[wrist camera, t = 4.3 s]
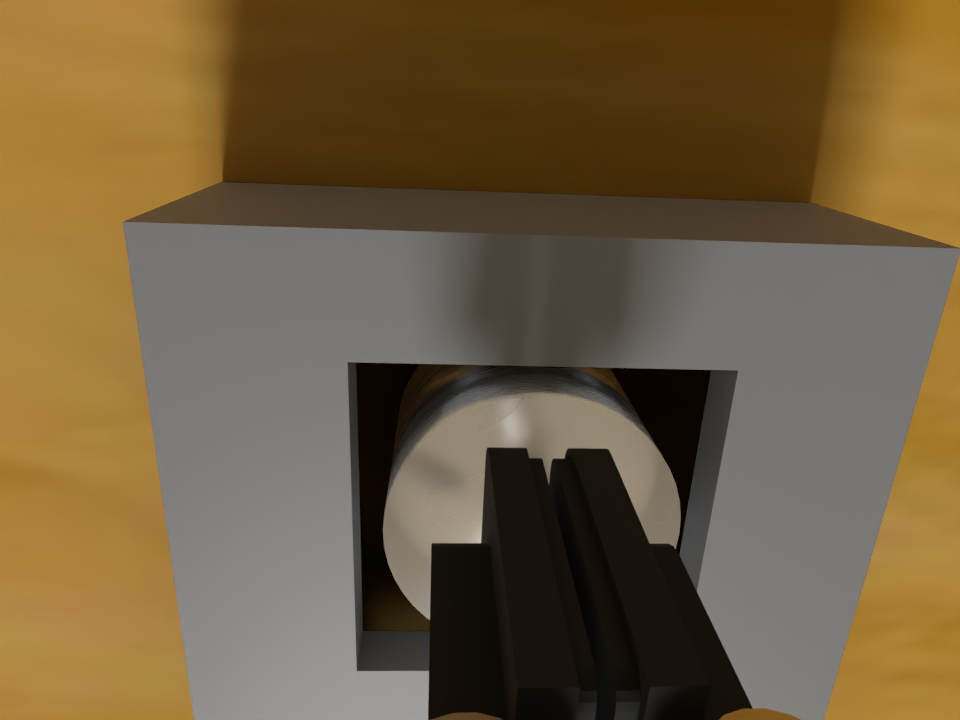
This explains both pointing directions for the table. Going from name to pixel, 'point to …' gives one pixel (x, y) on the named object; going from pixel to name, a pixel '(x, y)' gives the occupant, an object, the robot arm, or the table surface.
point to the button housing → (516, 342)
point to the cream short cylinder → (506, 424)
